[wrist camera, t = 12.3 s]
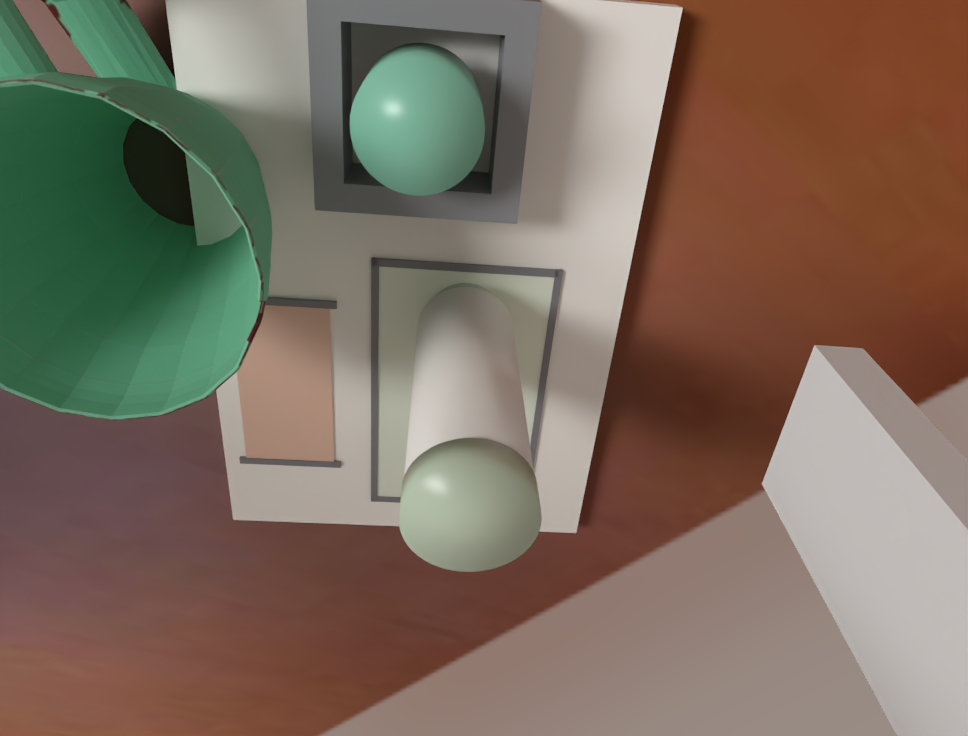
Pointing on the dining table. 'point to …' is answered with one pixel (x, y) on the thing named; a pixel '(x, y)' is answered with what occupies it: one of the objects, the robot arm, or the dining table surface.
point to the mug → (116, 229)
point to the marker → (468, 438)
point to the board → (423, 230)
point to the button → (418, 120)
